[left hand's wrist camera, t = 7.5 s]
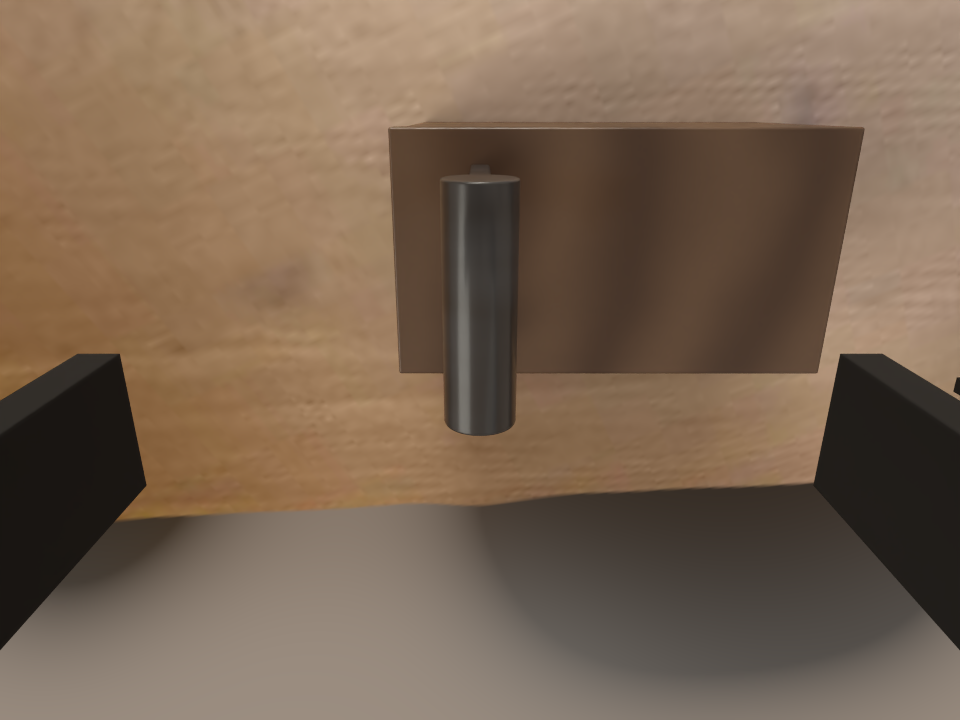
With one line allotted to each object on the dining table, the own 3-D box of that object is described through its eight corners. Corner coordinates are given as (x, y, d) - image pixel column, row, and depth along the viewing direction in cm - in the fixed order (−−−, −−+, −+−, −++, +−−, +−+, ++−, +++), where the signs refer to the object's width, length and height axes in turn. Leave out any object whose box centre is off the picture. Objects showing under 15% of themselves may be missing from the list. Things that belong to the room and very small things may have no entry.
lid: (402, 363, 28) (369, 470, 20) (392, 126, 25) (346, 134, 17) (804, 363, 28) (941, 471, 20) (848, 126, 25) (1035, 134, 17)
